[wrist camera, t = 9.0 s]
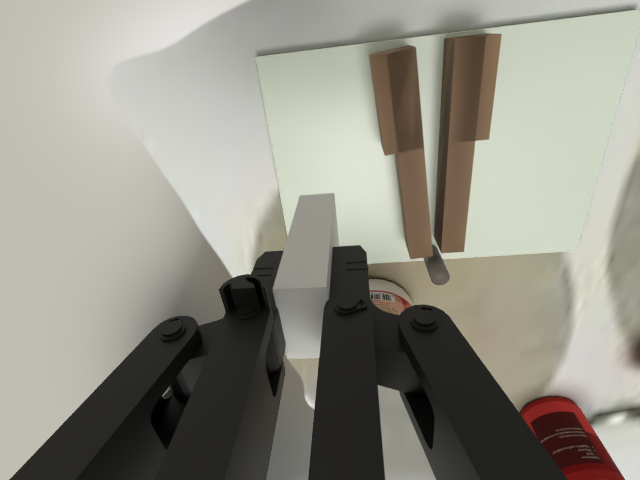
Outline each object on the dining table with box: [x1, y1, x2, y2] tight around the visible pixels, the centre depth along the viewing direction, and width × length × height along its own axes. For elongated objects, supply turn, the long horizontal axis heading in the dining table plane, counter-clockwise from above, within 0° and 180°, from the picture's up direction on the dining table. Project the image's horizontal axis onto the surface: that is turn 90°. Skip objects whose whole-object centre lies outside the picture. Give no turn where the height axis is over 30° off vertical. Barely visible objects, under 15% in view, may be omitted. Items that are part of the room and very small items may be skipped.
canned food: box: [521, 397, 625, 480], centre depth 45 cm, size 8×8×11 cm
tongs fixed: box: [424, 33, 502, 285], centre depth 30 cm, size 4×20×4 cm, turn 6°
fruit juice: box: [369, 279, 436, 480], centre depth 30 cm, size 9×9×28 cm
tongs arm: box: [369, 45, 433, 259], centre depth 30 cm, size 3×17×3 cm, turn 13°
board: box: [256, 9, 640, 264], centre depth 32 cm, size 28×20×1 cm
